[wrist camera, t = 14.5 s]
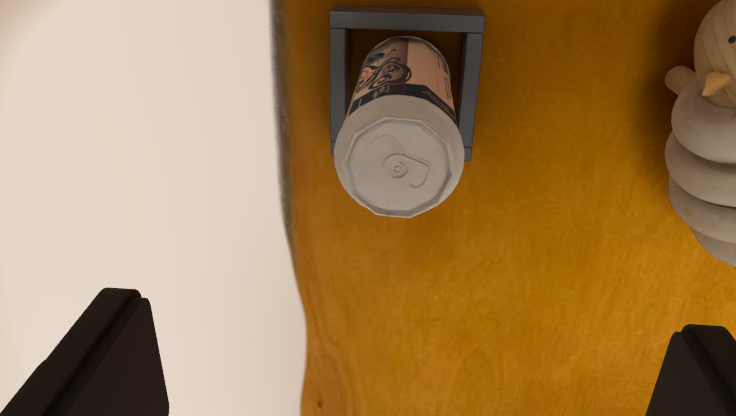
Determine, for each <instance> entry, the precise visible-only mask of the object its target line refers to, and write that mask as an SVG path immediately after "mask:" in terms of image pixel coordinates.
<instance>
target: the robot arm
mask: <svg viewBox="0 0 736 416" xmlns="http://www.w3.org/2000/svg"><path fill="white" fill-rule="evenodd" d="M168 415H169V402H168V396H167V391H166V385H165V380H164V375H163V369H162V364H161V358H160V354H159V348H158V343H157V337H156V332H155V327H154V321H153V316H152V311H151V305H150V302H149V300H148V299H147V298H142V297H141V294H140V293H139V291H138V290H135V289H121V288H120V289H119V288H104V289H102V290H101V291H100V292H99V294H98V295H97V296H96V297H95V299H94V300H93V301H92V302H91V304H90V305H89V306H88V307H87V309H86V310H85V311H84V312H83V314H82V315H81V316H80V317H79V319H78V320H77V321H76V322H75V324H74V325H73V326H72V327H71V329H70V330H69V331H68V332H67V334H66V335H65V336H64V337H63V339H62V340H61V341H60V342H59V344H58V345H57V346H56V347H55V349H54V350H53V351H52V353H51V354H50V355H49V356H48V358H47V359H46V360H44V361H43V362H42V363H41V364H40V365H39V366H38V367H37V368H36V370H35V371H34V372H33V373H32V375H31V376H30V377H29V378H28V379H27V381H26V382H25V383H24V385H23V386H22V387H21V388H20V389H19V391H18V392H17V393H16V394H15V396H14V397H13V398H12V399H11V401H10V402H9V403H8V404H7V406H6V407H5V408H4V409H3V411H2V412H1V413H0V416H168ZM645 416H736V341H735V339H734V338H733V337H732V335H731V334H730V332H729V331H728V330H727V329H726V328H724V327H722V326H710V325H694V324H689V325H686V326H685V327H684V328H683V329H682V331H681V332H675V333H674V334H673V335H672V337H671V339H670V342H669V345H668V348H667V351H666V354H665V358H664V361H663V364H662V367H661V370H660V373H659V376H658V379H657V382H656V385H655V388H654V391H653V394H652V397H651V400H650V403H649V406H648V409H647V412H646V415H645Z"/></svg>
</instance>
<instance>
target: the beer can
mask: <svg viewBox="0 0 736 416" xmlns="http://www.w3.org/2000/svg"><path fill="white" fill-rule="evenodd" d="M450 86H451V76H450V72H449V68H448V64H447V62H446V59H445V58H444V56H443V55H442V54H441V52H440V51H439V50H438V49H437V48H436V47H435V46H433V45H432V44H431V43H429V42H428V41H426V40H424V39H421V38H418V37H414V36H395V37H392V38H389V39H387V40H385V41H383V42H381V43H379V44H378V45H376V46H375V47H374V48H373V49H372V50H371V51H370V52H369V53H368V55H367V56H366V58H365V60H364V62H363V64H362V67H361V71H360V74H359V79H358V82H357V85H356V88H355V91H354V94H353V96H352V99H351V102H350V105H349V108H348V111H347V114H346V117H345V120H344V123H343V126H342V128H341V130H340V132H339V134H338V136H337V140H336V143H335V147H334V163H335V168H336V171H337V174H338V177H339V180H340V182H341V184H342V185H343V187H344V189H345V190H346V192H347V193H348V194H349V195H350V196H351V197H352V198H353V199H354V200H355V201H357V202H358V203H359V204H360V205H362V206H364V207H365V208H367V209H369V210H371V211H372V212H373V213H374V214H376V215H382V216H391V217H402V218H411V217H413V216H415V215H418V214H421V213H423V212H425V211H427V210H429V209H431V208H433V207H435V206H437V205H439V204H440V203H441V202H443V201H444V200H445V199H446V198H447V197H448V196H449V195H450V194H451V193H452V191H453V190H454V188H455V187H456V185H457V184H458V181H459V179H460V176H461V174H462V171H463V166H464V147H463V143H462V139H461V135H460V133H459V130H458V128H457V122H456V116H455V110H454V104H453V99H452V93H451V87H450Z"/></svg>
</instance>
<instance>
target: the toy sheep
mask: <svg viewBox="0 0 736 416" xmlns="http://www.w3.org/2000/svg"><path fill="white" fill-rule="evenodd" d="M694 65H695V71H696V72H694V71H692V70H691V69H689V68H687V67H685V66H676V67H673V68H672V69H670V70H669V71H668V73H667V74H666V76H665V84H666V86H667V87H668V88H669V89H671V90H672V91H673V92H674V93H676V94H677V95H679V96H678V98H677V100H676V102H675V104H674V107H673V110H672V116H671V124H672V129H673V130H672V132H671V134H670V135H669V138H668V140H667V142H666V147H665V161H666V165H667V169H668V171H669V173H670V177H669V181H668V195H669V199H670V202H671V205H672V207H673V209H674V210H675V212H676V213H677V215H678V216H679V217H680V218H681V219H682V220H683V221H684V222H685V223H686V224H687V225H689V226H690V228H691V230H692V232H693V234H694V235H695V237H696V239H697V240H698V241H699V243H700V244H701V245H702V246H703V248H704V249H705V250H706V251H708V252H709V253H710V254H711V255H713V256H714V257H716V258H717V259H719V260H721V261H723V262H725V263H727V264H729V265H732V266H734V267H735V269H736V0H721V1H720V2H718V3H717V4H716V5H715V6H714V7H713V8H711V9H710V10H709V12H708V13H707V14H706V16H705V17H704V19H703V21H702V22H701V24H700V26H699V29H698V31H697V34H696V37H695V42H694Z"/></svg>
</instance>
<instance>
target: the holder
mask: <svg viewBox="0 0 736 416" xmlns="http://www.w3.org/2000/svg"><path fill="white" fill-rule="evenodd" d="M485 18H486V17H485V15H484V13H483V11H482V10H481V9H459V8H427V7H394V6H361V5H334V6H333V7H332V9H331V10H330V11H329V27H330V29H329V37H330V130H331V155H334V147H335V143H336V140H337V136H338V134H339V132H340V130H341V128H342V126H343V123H344V120H345V117H346V114H347V111H348V108H349V71H350V29H379V30H409V31H439V32H464V34H463V46H462V57H461V68H460V79H459V91H458V102H457V113H456V122H457V128H458V130H459V133H460V135H461V139H462V143H463V147H464V161H470V160H471V152H472V142H473V133H474V123H475V114H476V104H477V94H478V85H479V75H480V66H481V56H482V46H483V37H484V34H483V33H484V27H485Z"/></svg>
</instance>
